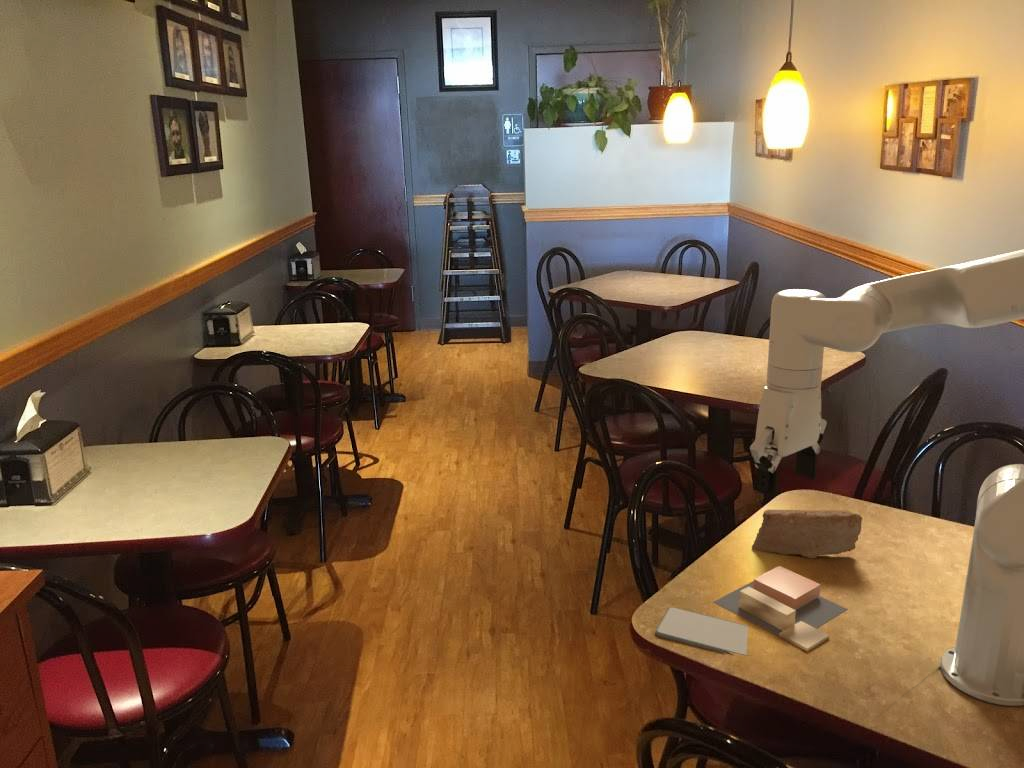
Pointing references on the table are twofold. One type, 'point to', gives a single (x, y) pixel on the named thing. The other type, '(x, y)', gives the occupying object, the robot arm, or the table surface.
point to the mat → (809, 614)
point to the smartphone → (704, 631)
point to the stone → (808, 532)
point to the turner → (781, 619)
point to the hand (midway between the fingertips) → (786, 485)
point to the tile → (787, 587)
